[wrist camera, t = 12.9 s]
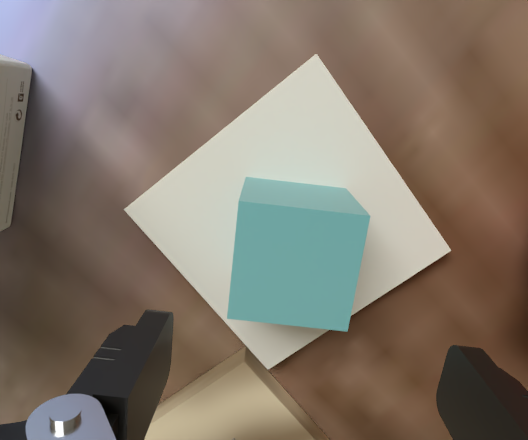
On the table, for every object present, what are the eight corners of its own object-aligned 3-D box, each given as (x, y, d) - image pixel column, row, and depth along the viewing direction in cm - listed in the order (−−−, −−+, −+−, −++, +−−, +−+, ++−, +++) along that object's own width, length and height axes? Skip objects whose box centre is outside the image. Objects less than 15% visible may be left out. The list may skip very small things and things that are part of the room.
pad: (443, 243, 22) (451, 250, 21) (267, 359, 24) (267, 369, 23) (313, 56, 19) (316, 53, 18) (130, 204, 21) (123, 209, 20)
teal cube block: (345, 188, 20) (370, 216, 15) (329, 279, 21) (347, 331, 17) (245, 176, 20) (238, 201, 15) (236, 269, 21) (226, 318, 16)
